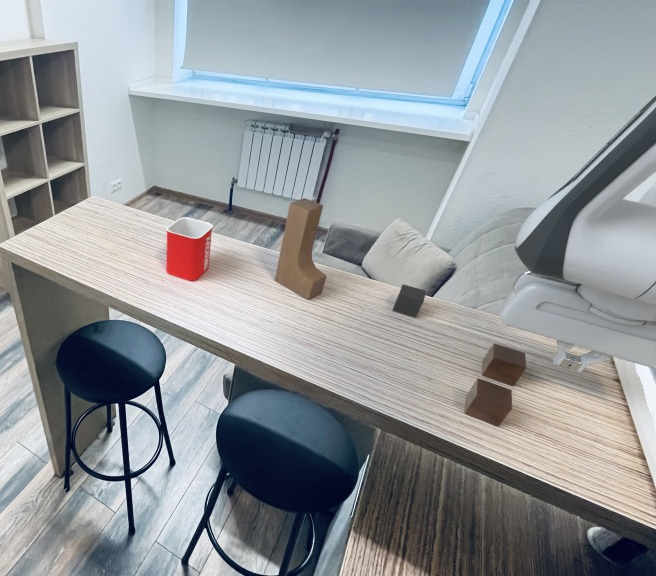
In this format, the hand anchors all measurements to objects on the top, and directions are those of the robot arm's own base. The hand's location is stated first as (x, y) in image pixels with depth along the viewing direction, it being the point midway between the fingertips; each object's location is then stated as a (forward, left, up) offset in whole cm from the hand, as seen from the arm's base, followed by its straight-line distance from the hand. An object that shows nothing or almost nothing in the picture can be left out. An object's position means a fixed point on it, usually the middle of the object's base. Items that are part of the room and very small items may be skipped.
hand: (565, 366), depth 59 cm
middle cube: (+5, +4, -5) cm, 8 cm away
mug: (+53, +35, -5) cm, 63 cm away
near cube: (+1, +13, -5) cm, 14 cm away
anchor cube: (+23, +3, -5) cm, 24 cm away
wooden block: (+37, +18, -5) cm, 41 cm away
